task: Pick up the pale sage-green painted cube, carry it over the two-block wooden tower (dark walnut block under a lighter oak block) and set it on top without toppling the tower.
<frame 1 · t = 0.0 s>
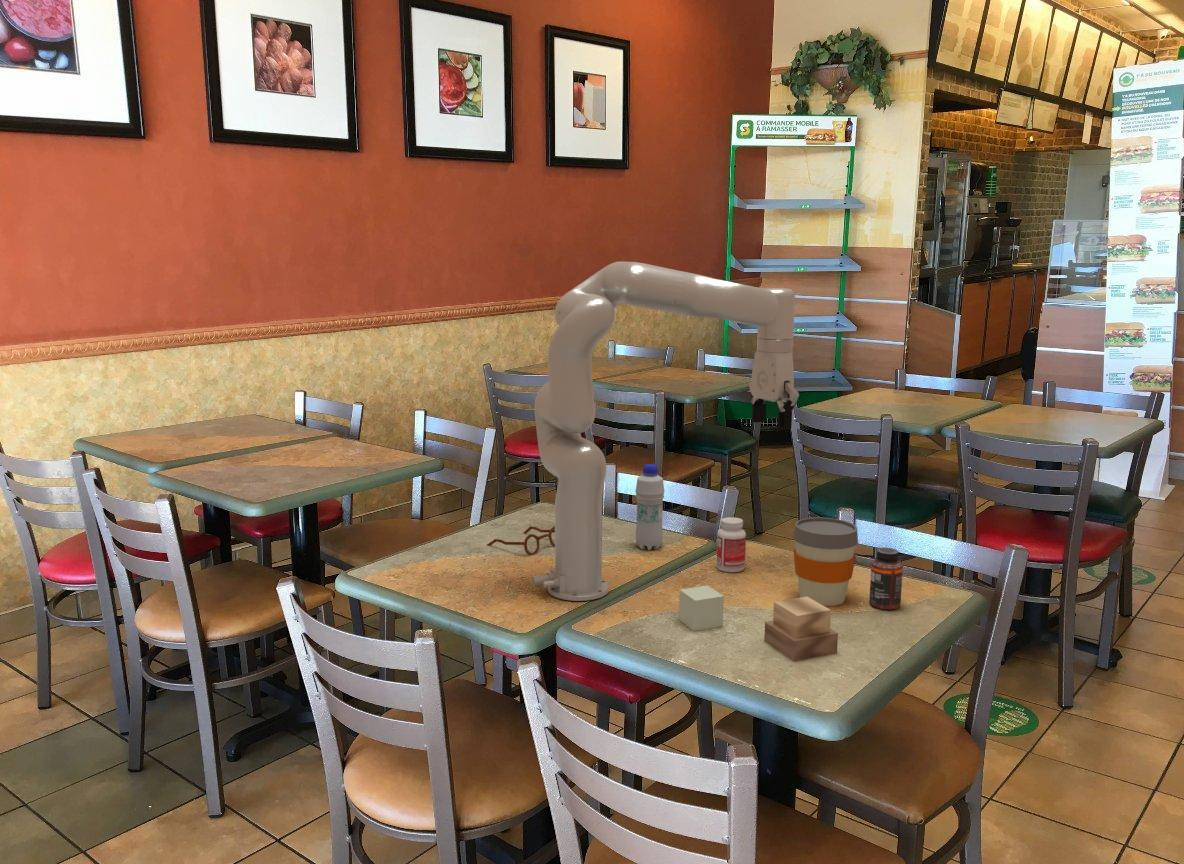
hand: (771, 425, 203), 31 cm above the table, fingers open, 9 cm apart
glasses: (525, 547, 222), on the table
supplement bottle: (884, 606, 185), on the table
sage cube: (700, 623, 176), on the table
reusable coffee cup: (821, 598, 189), on the table
walnut block: (799, 648, 166), on the table, touching oak block
pill bottle: (730, 569, 206), on the table
bottle: (648, 548, 220), on the table
oak block: (801, 627, 165), point 4 cm above the table, touching walnut block
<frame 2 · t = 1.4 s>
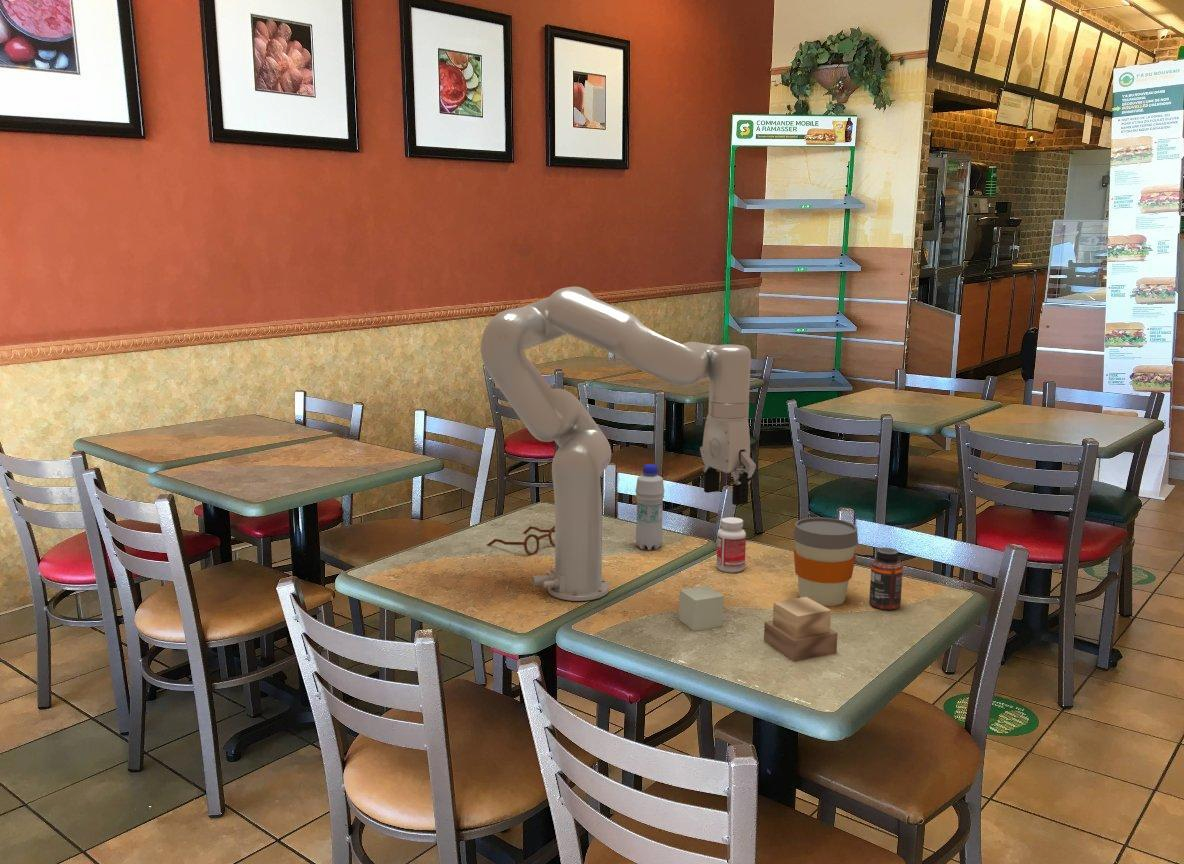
hand: (725, 497, 181), 22 cm above the table, fingers open, 9 cm apart
nothing on the table moved.
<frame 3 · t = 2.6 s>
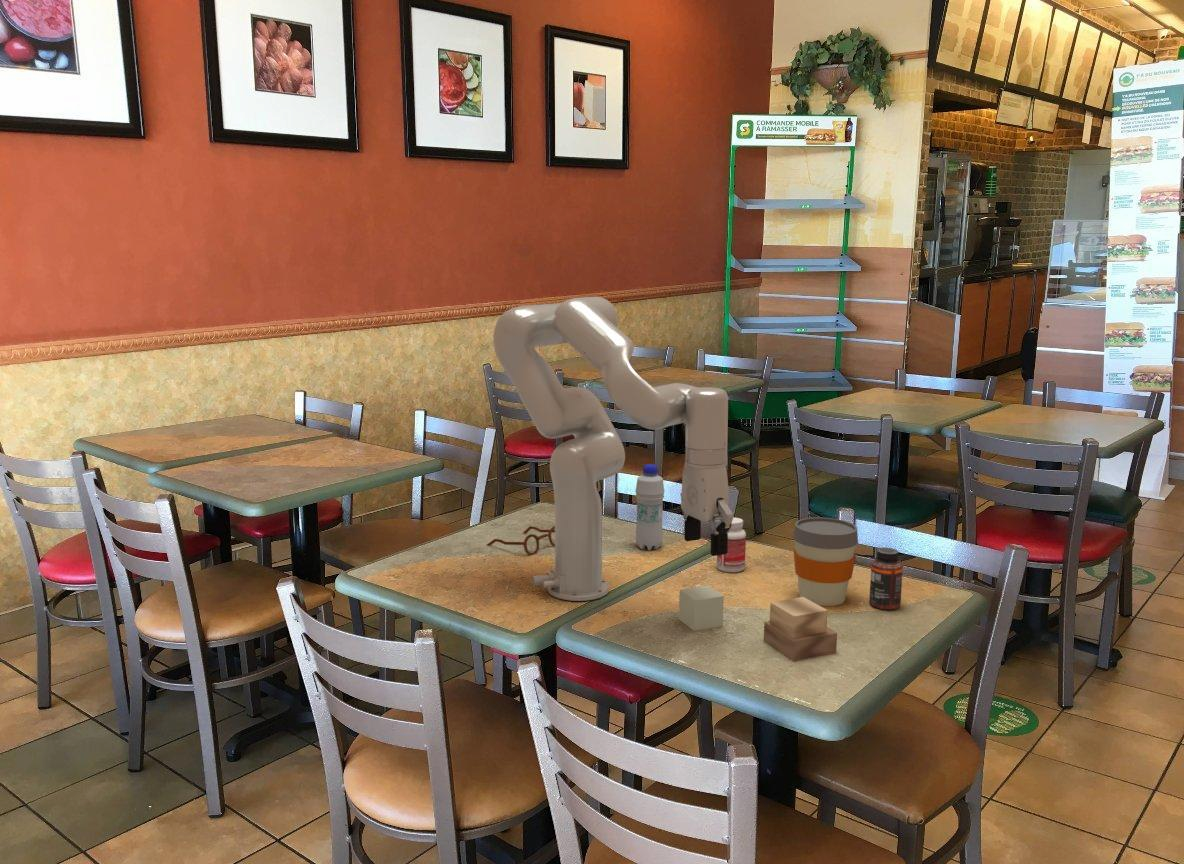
hand: (705, 547, 173), 15 cm above the table, fingers open, 9 cm apart
walnut block: (799, 648, 166), on the table
oak block: (797, 627, 165), point 4 cm above the table
everything else where it was.
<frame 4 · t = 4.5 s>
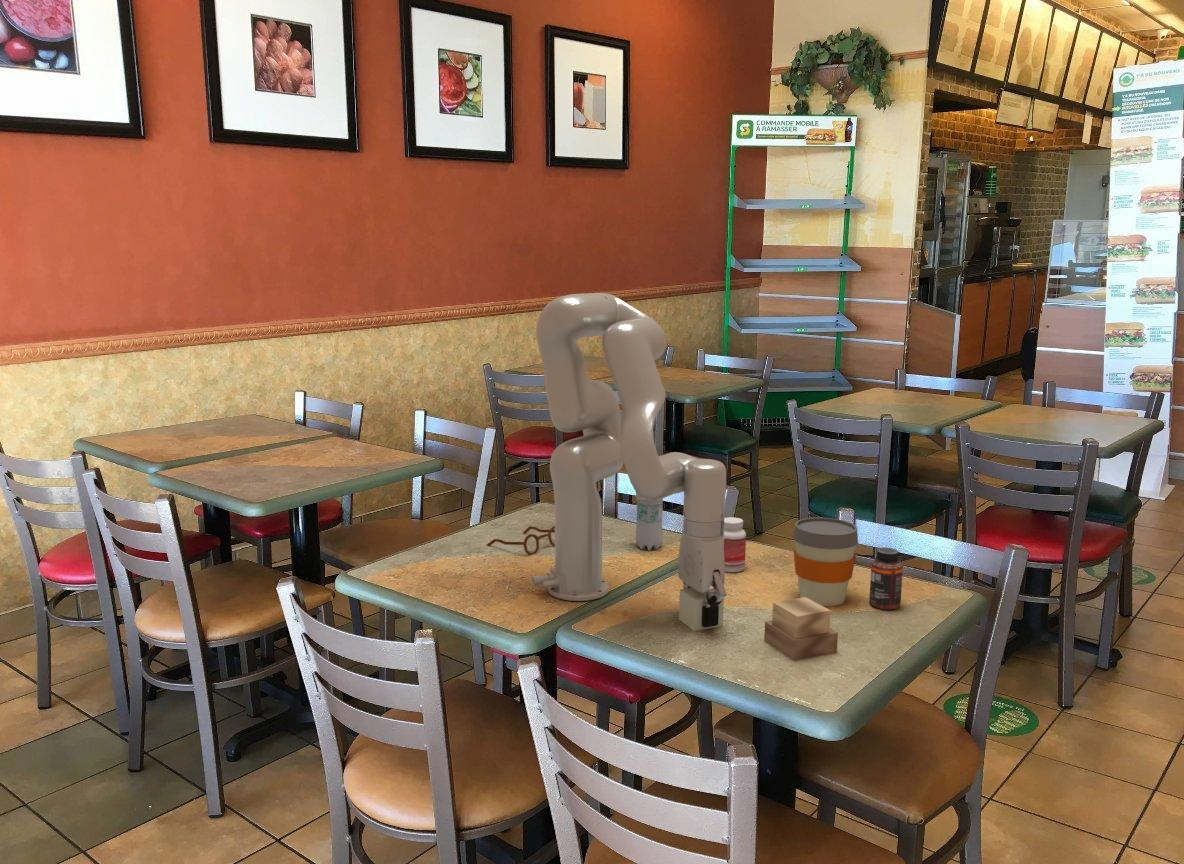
hand: (700, 618, 176), 1 cm above the table, fingers closed on sage cube, 6 cm apart
sage cube: (700, 622, 176), on the table, touching gripper
everything else where it was.
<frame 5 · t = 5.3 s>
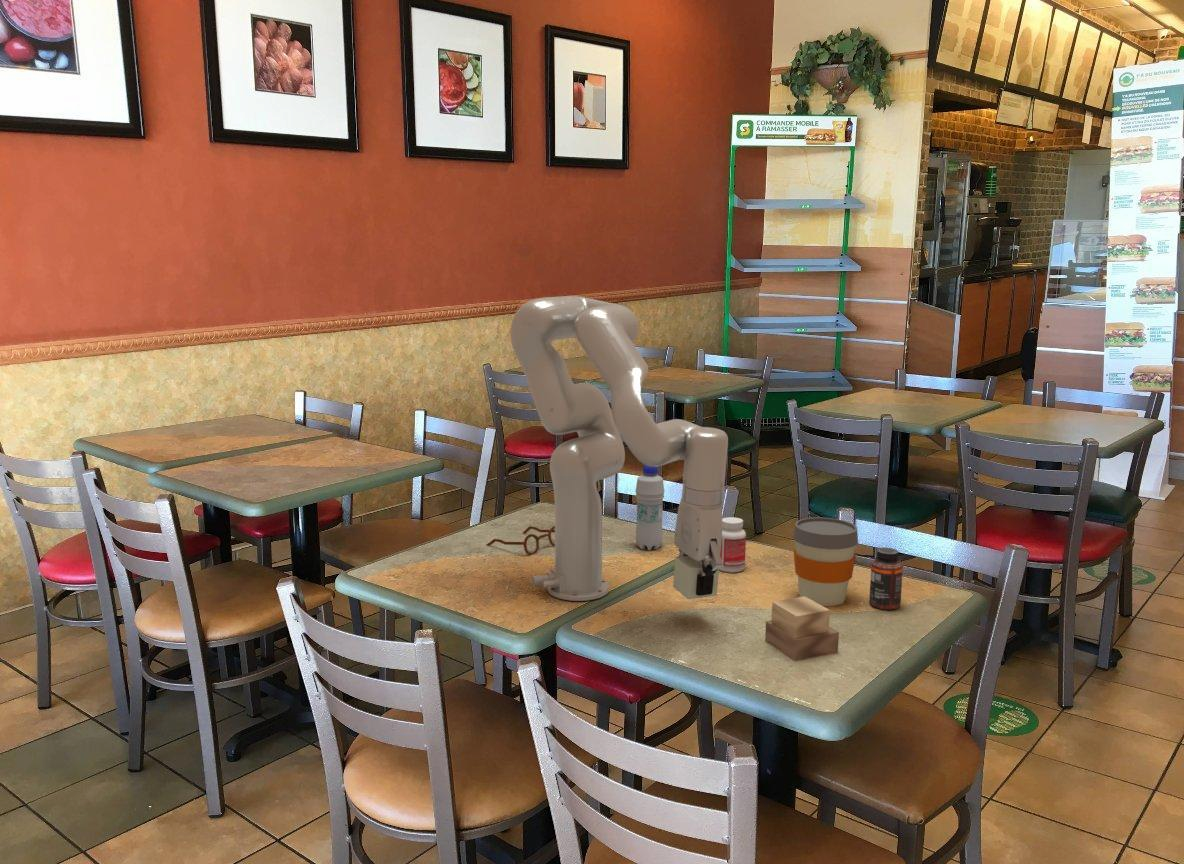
hand: (695, 586, 176), 7 cm above the table, fingers closed on sage cube, 6 cm apart
sage cube: (694, 591, 176), point 6 cm above the table, touching gripper
walnut block: (800, 647, 166), on the table, touching oak block
oak block: (799, 627, 165), point 4 cm above the table, touching walnut block
everything else where it was.
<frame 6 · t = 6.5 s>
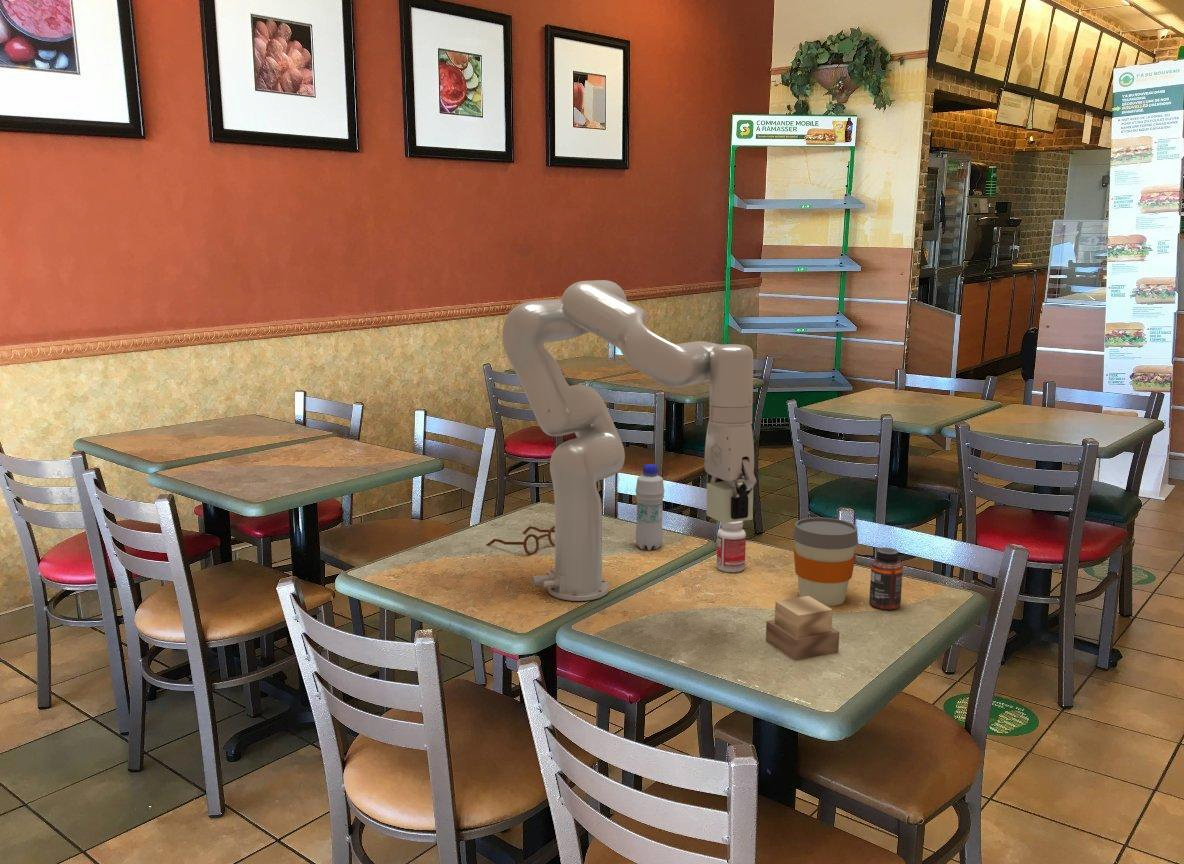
hand: (729, 512, 169), 22 cm above the table, fingers closed on sage cube, 6 cm apart
sage cube: (729, 517, 169), point 21 cm above the table, touching gripper
everything else where it was.
when the fingers open (9 cm above the table, at t = 9.6 s): sage cube moves 2 cm, resting on oak block.
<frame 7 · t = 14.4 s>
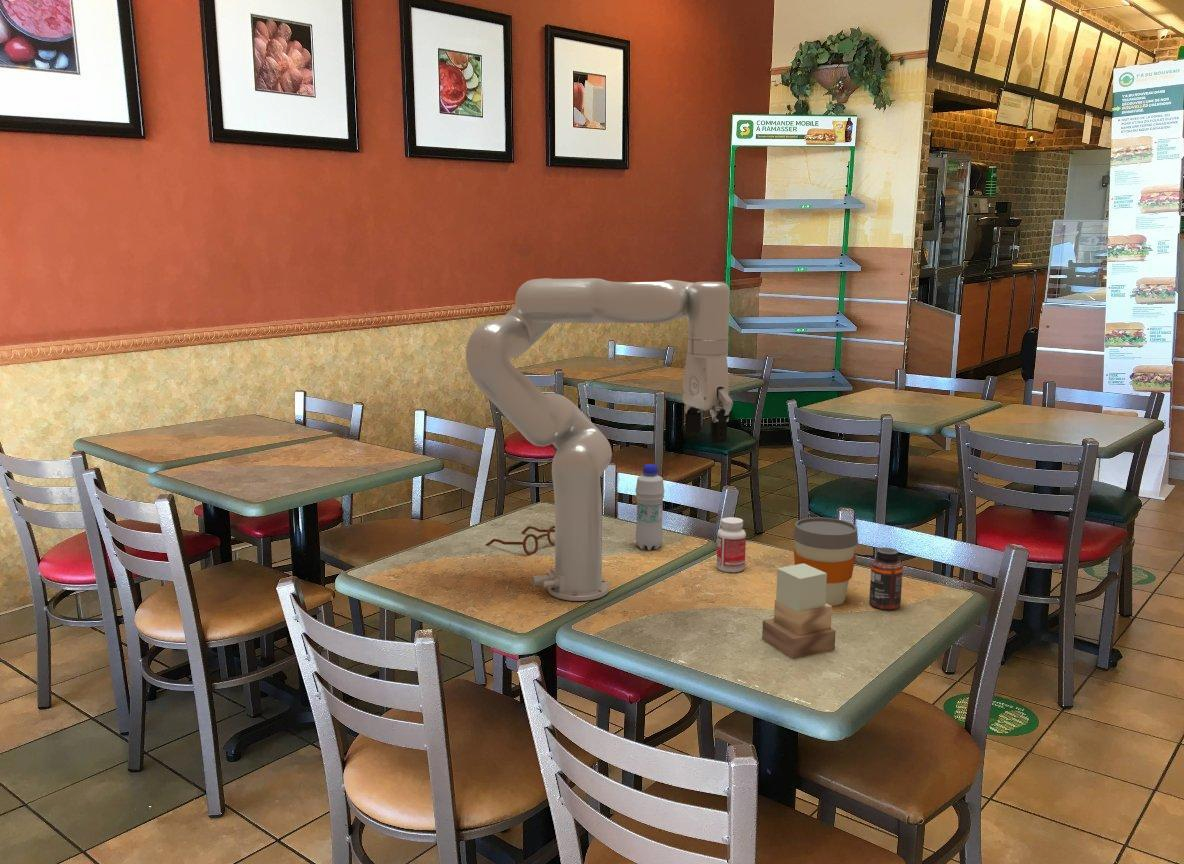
hand: (705, 437, 180), 33 cm above the table, fingers open, 9 cm apart
sage cube: (800, 603, 166), point 8 cm above the table, touching oak block
walnut block: (797, 646, 167), on the table
oak block: (802, 624, 167), point 4 cm above the table, touching sage cube
everything else where it was.
at the end: sage cube 0.6 cm off-centre on the oak block, point 4.0 cm above the oak block's base; sage cube tilted 0°; oak block 0.8 cm off-centre on the walnut block, point 4.0 cm above the walnut block's base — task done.
